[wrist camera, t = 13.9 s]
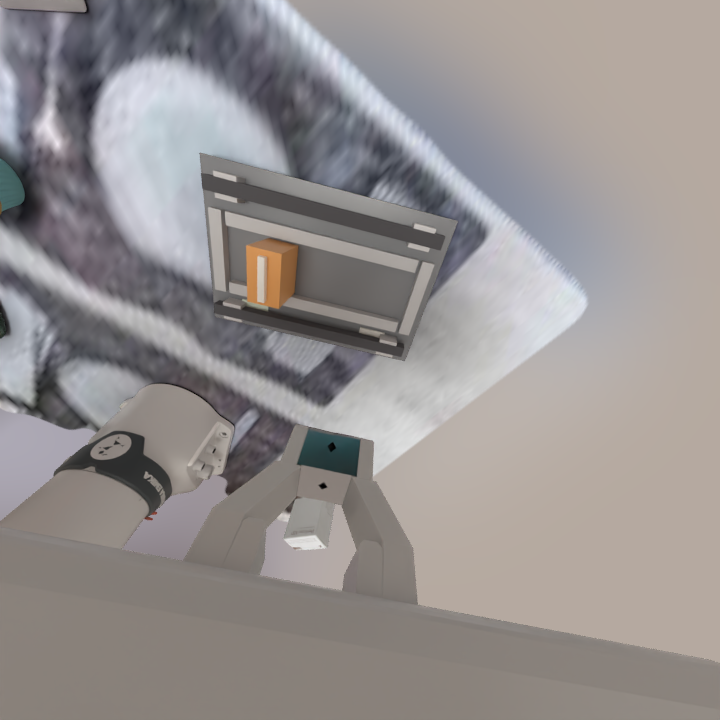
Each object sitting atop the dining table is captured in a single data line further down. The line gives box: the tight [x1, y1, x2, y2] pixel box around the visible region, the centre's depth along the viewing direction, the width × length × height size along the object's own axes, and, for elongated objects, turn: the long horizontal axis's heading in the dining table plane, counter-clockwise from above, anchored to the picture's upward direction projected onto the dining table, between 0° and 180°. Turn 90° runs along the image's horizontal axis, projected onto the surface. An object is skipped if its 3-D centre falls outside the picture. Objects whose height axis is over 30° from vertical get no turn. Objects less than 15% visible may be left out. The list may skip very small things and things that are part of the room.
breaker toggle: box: [246, 238, 298, 309], centre depth 25 cm, size 5×3×6 cm, turn 167°
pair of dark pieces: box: [201, 173, 445, 357], centre depth 26 cm, size 13×22×1 cm, turn 77°
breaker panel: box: [200, 153, 458, 361], centre depth 28 cm, size 16×24×4 cm, turn 77°
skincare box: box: [284, 496, 335, 550], centre depth 44 cm, size 6×4×12 cm
